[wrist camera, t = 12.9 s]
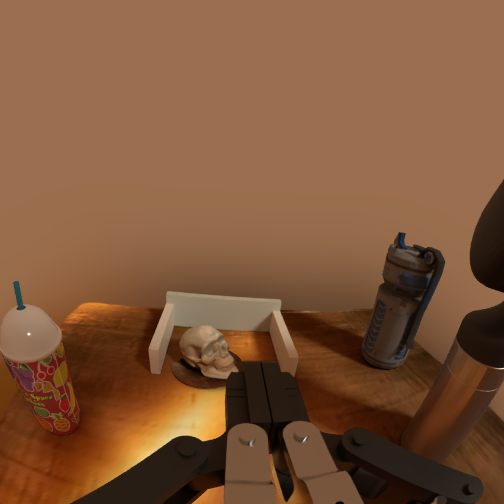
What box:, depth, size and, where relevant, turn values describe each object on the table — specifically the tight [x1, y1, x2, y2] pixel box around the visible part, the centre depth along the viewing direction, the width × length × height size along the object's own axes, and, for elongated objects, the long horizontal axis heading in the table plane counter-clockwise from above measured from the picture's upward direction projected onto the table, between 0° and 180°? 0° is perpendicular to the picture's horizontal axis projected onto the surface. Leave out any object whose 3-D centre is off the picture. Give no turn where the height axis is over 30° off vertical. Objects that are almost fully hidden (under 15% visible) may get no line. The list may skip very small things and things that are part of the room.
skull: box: [172, 325, 242, 388], centre depth 42 cm, size 12×10×10 cm
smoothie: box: [0, 281, 81, 435], centre depth 21 cm, size 8×8×20 cm
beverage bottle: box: [361, 232, 445, 369], centre depth 45 cm, size 10×13×25 cm
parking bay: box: [149, 291, 299, 377], centre depth 48 cm, size 23×18×7 cm
